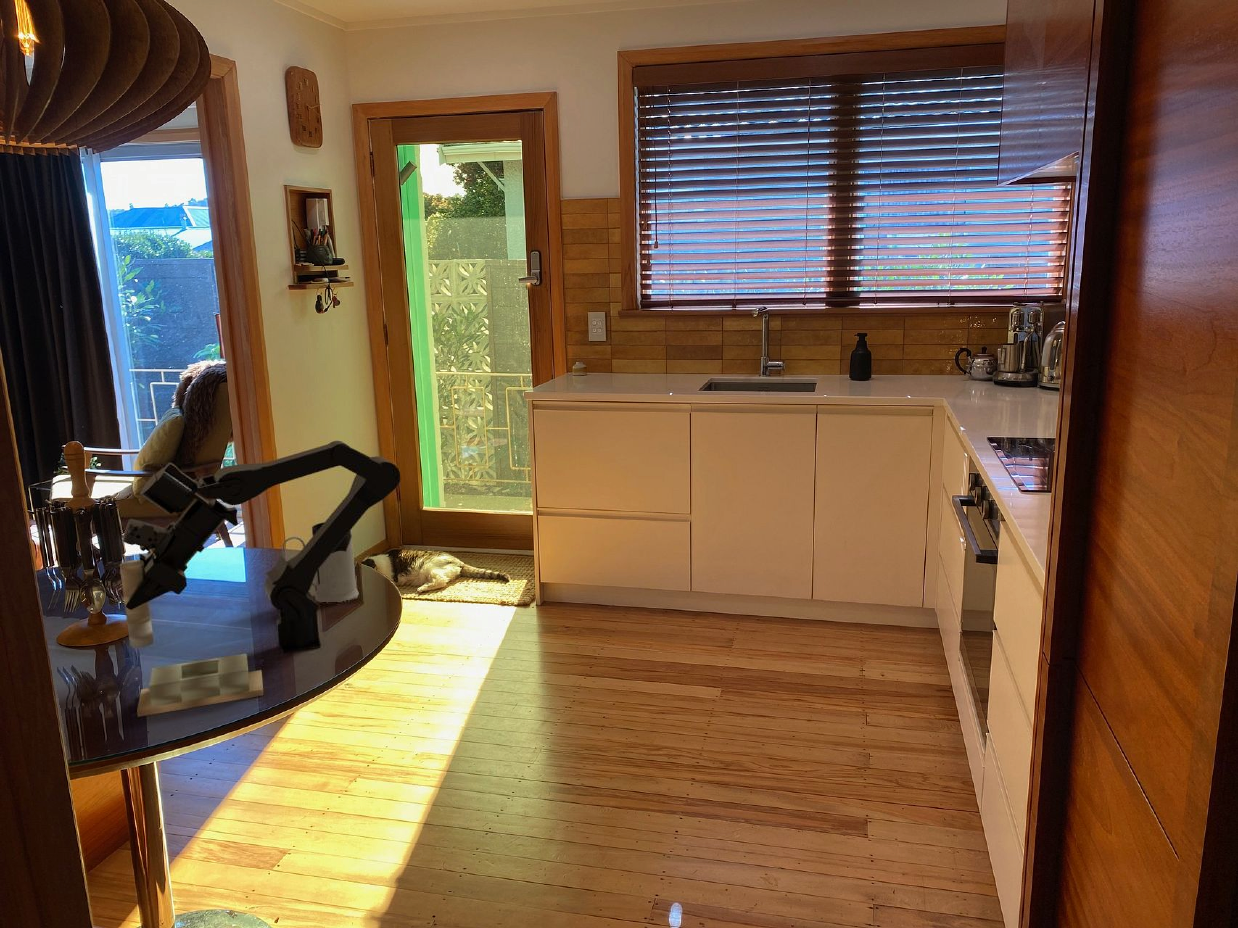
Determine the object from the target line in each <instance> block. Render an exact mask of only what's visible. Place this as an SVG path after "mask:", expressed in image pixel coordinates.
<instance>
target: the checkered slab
mask: <svg viewBox="0 0 1238 928" xmlns="http://www.w3.org/2000/svg"><path fill="white" fill-rule="evenodd" d="M262 673H263V672H262V670H261V669H259V670H253V671H249V665H248V655H247V653H243V654H242V653H241V654H235V655H229V656H228V655H227V656H224V657H223V656H222V657H215V658H209V659H202V660H198V661H197V660H196V661H189V662H184V663H182V662H181V663H176V664H172V665H171V664H170V665H165V666H159V667H152V669H151V674H150V679H149V684H148V687H149V688H148V687H147V688H143V689H140V695H139V700H138V705H137V709H136V711H137V712H136V713H137V717H145V716H151V715H157V714H162V713H168V712H174V711H180V710H186V709H190V708H198V707H203V706H208V705H209V706H210V705H215V704H220V703H226V702H232V701H238V700H245V699H250V698H255V697H256V698H257V697H262V696H264V686H263V674H262Z"/></svg>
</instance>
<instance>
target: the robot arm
mask: <svg viewBox="0 0 1238 928" xmlns="http://www.w3.org/2000/svg"><path fill="white" fill-rule="evenodd" d="M336 467H342V468H344V469H346V470H348V471H350V472H352V473H354V474H355V476H354V478H353V481H352V483H351V486H350V489H349V491H348V493H347V494H346V496H345V497H344V498H343V499H342V500H341V502H340V503H339V505H337V507H336V508H335V509H334V511H333V512H332V513H331V514H330V515H329V516H328V517H327V519H326V520H325V521H324V524H323V525H322V526H321V527H320V529H319V530H318V531H317V532H316V533H315V535H314V536H313V535H312V537H311V538H310V539H309V540H308V542H307V543H306V544H305V547H304V548H303V547H302V548H301V550H300V551H299V552H298V553H297V555H295V556H293V557H292V558H290V559H289V560H287V559H286V560H287V561H286V560H285V559H284V558H283V556H280V558H278V560H277V562H276V563H275V565H274V566H273V568H271V570H269V571H267V572H266V574H265V575H267V578H266V580H265V582H264V592H265V594H266V596H267V597H268V599H269V601H270V603H271V605H272V606H273V607H274V608H275V609H277V610H278V613H279V619H277V620H276V628H277V639H278V646H279V647H280V648H281V647H282V648H281V650H282V653H289V652H296V651H303V650H310V649H316V648H321V646H322V643H321V639H320V632H319V621H318V620H319V619H318V609H319V607H320V606H319V604H318V602H317V601H316V600H315V597H313V595H312V594H311V593H310V590H311V588H312V586H313V585H312V583H313V584H314V580H315V575H316V572H317V571H318V569H319V568H320V567H321V565H322V564H323V563H324V562H325V561H326V559H327V558H328V557H329V556H330V554H331V553H332V552H333V551H334V550H335V548H336V547H337V546H338V545H339V544H340V542H341V541H342V540H343V539H344V537H345V536H346V535H347V534H348V533H349V531H350V530H351V531H352V529H353V528H354V526H355V525H356V524H357V523H358V522H359V520H360V519H361V518H362V517H363V515H364V514H365V513H366V512H367V511H368V510H369V509H370V508H371V507H373V506H375V505H376V504H378V503H380V502H382V501H383V500H385V499H386V498H387V497H388V496H389V495H390V494H392V493H393V492H394V491H396V489H397V488H398V486H400V482H401V481H402V480H401V479H402V478H401V472H400V470H399V468H398V467H397V465H396V464H394V463H393V462H391V461H389V460H388V459H386V458H385V457H382V456H378V455H376V456H368V455H367V454H365V453H363V452H361V451H358V450H356V449H354V448H353V447H351V446H350V445H348V444H346V443H345V442H343V441H341V440H333V441H331V442H329V443H327V444H324V445H320V446H317V447H315V448H311V449H307V450H303V451H301V452H297V453H294V454H290V455H287V456H283V457H280V458H277V459H273V460H270V461H267V462H260V463H259V462H256V463H242V464H233V465H227V466H223V467H221V468H219V469H218V470H217V471H216V472H215V474H212V475H211V474H210V475H208V476H203V477H199V478H195V479H193V478H191V477H190V476H189V475H187V474H186V473H184V472H183V471H182V470H180V469H179V468H178V466H176V465H175V464H174V463H172V462H168V463H167V464H166V465H165V467H162V468H161V469H160V470H159V471H157V472H156V474H155V473H154V474H153V475H152V476H151V477H150V478H149V479H148V480H147V481H146V483H145V485H144V486H143V487H142V489H141V490H140V493H139V494H140V495H141V496H142V497H143V498H145V499H147V500H148V501H149V502H151V503H152V504H154V505H155V506H157V507H158V508H160V509H161V510H163V511H164V512H166V513H167V514H169V515H172V514H174V513H175V514H178V513H179V514H181V513H182V512H184V513H183V514H182V515H180V517H179V518H178V520H177V521H176V522H174V521H172V522H169V523H168V524H167V525H166V526H165V527H162V526H159V525H157V524H153V523H148V522H146V521H143V520H139V519H134V518H129V519H128V521H127V523H126V526H125V529H124V533H123V535H122V539H123V540H122V541H123V543H125V544H128V545H131V546H134V545H137V546H139V548H140V550H141V551H142V552H145V551H147V553H146V554H145V555H144V554H142V553H139V555H138V558H139V560H142V561H143V562H144V566H143V565H142V566H141V567H142V575H143V578H142V580H141V582H140V583H139V585H138V586H137V588H136V589H135V591H134V593H133V594H132V596H131V597H130V599H129V601H128V602H127V604H126V608H128V609H129V610H132V609H134V608H136V607H138V606H140V605H142V604H144V603H146V602H148V601H149V602H150V601H153V600H154V599H156V598H158V597H160V596H163V595H166V594H167V593H169V592H173V593H174V594H176V595H180V594H181V593H182V592H183V591H184V590H185V588H186V587H187V586H188V584H187V577H186V573H185V571H186V570H187V569H188V565H187V564H188V563H189V562H190V561H191V560H192V558H193V557H195V555H196V554H197V553H202V552H203V551H204V550H205V546H204V545H205V544H206V542H208V541H209V540H210V538H211V537H212V536H213V535H214V534H215V532H216V531H217V530H218V529H219V528H220V526H221V525H222V524H224V522H225V521H226V522H228V523H230V524H231V525H233V526H235V527H236V526H238V524H239V522H238V518H237V517H238V509H237V508H236V506H238V505H241V504H245V503H246V502H248V501H250V500H252V499H254V498H256V497H258V496H259V495H261V494H263V493H265V492H266V491H267V490H269V489H270V488H273V487H275V486H277V485H280V484H283V483H286V482H290V481H293V480H297V479H301V478H303V477H306V476H310V475H312V474H317V473H319V472H323V471H326V470H329V469H332V468H336ZM208 499H209V500H208ZM219 500H221V502H223V503H224V504H227V505H229V506H234V507H227V506H226V505H224V504H223V503H221V502H220V501H219ZM190 504H191V505H190Z"/></svg>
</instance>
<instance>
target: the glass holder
mask: <svg viewBox="0 0 1238 928" xmlns="http://www.w3.org/2000/svg"><path fill="white" fill-rule="evenodd" d="M324 522H325V521H324ZM324 522H319V523H317V524H314V525H312V527H311V530H312V532H311V533H312V537H313V536H314V535H315V533H316V532H317V531H318V530H319V529H320V527H321V526H322V525H323V524H324ZM351 531H352V529H351V530H350V531H349V533H348V534H347V535H346V536H345V537H344V539H343V540H342V541H341V542H340V544H339V545H338V546H337V547H336V548H335V550H334V551H333V552H332V553H331V554H330V556H329V557H328V558H327V559H326V561H325V562H324V563H323V564H322V565H321V567H320V568H319V569H318V571H317V572H316V575H315V578H314V580H315V584H314V582H313V583H312V585H311V586H312V587H314V591H315V592H316V593H315V596H314V600H315V601H316V602H317V603H318V602H319V603H322V602H327V603H326V604H329V603H328V602H338V603H344V602H347V601H346V600H348V601H351V600H354V599H356V598H357V597H358V596H359V594H360V593H359V591H358V589H357V586H356V585H357V583H356V572H355V571H356V570H355V560H354V558H355V556H354V547H353V535H352V533H351ZM294 539H295V540H299V542H300V543H301V544H302V549H303V548H304V547H305V545H306V544H305V542H304V540H303V539H302V538H301V537H298V536H290V537H288V538H287V539H285V540H284V541H283V543H282V547H281V553H282V557H283V558H284V559H285V560H286V561H288V560H287V558H286V554H285V546H286V543H287V542H289V541H291V540H294ZM343 601H344V602H343Z"/></svg>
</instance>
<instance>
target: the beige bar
mask: <svg viewBox="0 0 1238 928" xmlns="http://www.w3.org/2000/svg"><path fill="white" fill-rule="evenodd" d="M142 565H143V566H144V562H143V561H142V560H140V559H135V560H134V559H133V560H132V559H131V560H127V561H123V562H121V563H120V564H119V571H120V577H121V578H120V579H121V586H122V593H123V599H124V600H123V601H124V609H125V616H126V622H127V631H128V638H129V639H128V640H129V646H130V647H131V648H133V649H136V648H137V649H139V648H145V647H149V646H151V645H152V644H153V643H154V635H153V634H154V633H153V624H152V618H151V616H152V615H151V610H150V609H151V608H150V601H148V602H146V603H144V604H142V605H140V606H138V607H136V608H134V609H132V610H129V609H128V608H126V604H127V602H128V601H129V599H130V597H131V596H132V594H133V593H134V591H135V589H136V588H137V586H138V585H139V583H140V582H141V580H142V578H143V575H142V567H141V566H142Z"/></svg>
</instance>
